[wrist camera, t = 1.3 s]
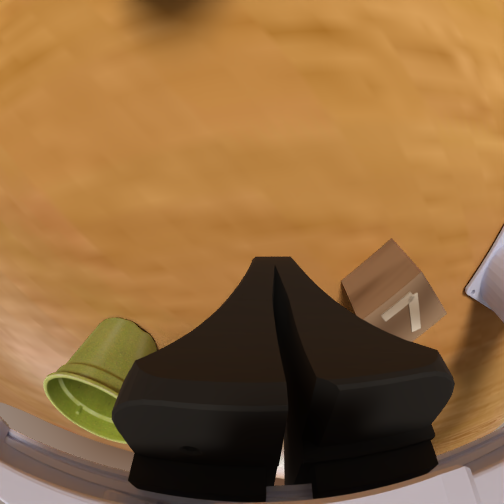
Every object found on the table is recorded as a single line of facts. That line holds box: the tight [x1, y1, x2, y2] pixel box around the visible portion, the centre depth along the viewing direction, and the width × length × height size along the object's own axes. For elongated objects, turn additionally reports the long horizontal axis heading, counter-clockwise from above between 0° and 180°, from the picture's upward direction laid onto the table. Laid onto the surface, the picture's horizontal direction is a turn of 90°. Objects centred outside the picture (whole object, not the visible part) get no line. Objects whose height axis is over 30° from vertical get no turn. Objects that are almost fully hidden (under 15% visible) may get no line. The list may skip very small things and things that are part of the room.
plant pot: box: [43, 318, 157, 444], centre depth 21 cm, size 9×9×9 cm
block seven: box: [341, 238, 447, 342], centre depth 19 cm, size 5×5×5 cm
